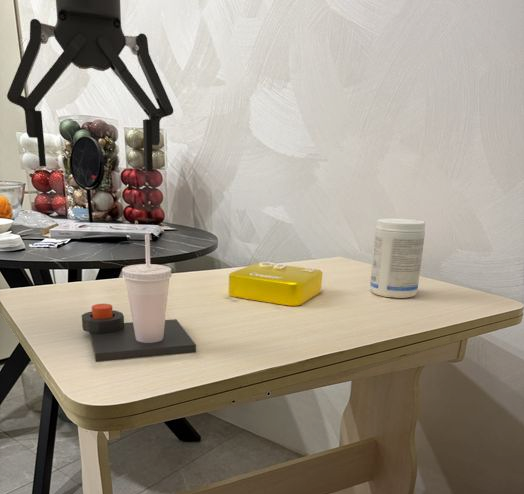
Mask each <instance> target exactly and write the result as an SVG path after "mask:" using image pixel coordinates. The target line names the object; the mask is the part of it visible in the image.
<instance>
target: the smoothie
mask: <svg viewBox="0 0 524 494" xmlns="http://www.w3.org/2000/svg"><path fill="white" fill-rule="evenodd" d="M150 242H151V241H150V234H148V233H147V234H144V246H145V248H144V249H145V263H139V264H131V265H126V266H124V267H123V268H122V275H121V276H122V278H123V279H124V281H125V285H126V292H127V296H128V297H127V298H128V302H129V303H128V304H129V309H130V313H131V320H132V322H133V326H134V331H135V337H136V340H137V341H139V342H143V343H154V342H159V341H161V340H163V335H164V326H165V320H166V315H167V305H168V304H167V303H168V294H169V285H170V278H172V276H173V275H172V268H171V267H169V266H167V265H163V264H153V263H151V243H150Z"/></svg>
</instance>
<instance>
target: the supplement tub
mask: <svg viewBox="0 0 524 494" xmlns="http://www.w3.org/2000/svg"><path fill="white" fill-rule="evenodd" d="M425 228H426V221H423V220H420V219H419V220H418V219H410V218H379V219H377V220H376V226H375V232H374V241H373V242H374V243H373V253H372V264H371V273H370V275H371V276H370V286H369V289H370V291H371V293H373V294H374V295H377V296H380V297H384V298H395V299H408V298H412V297H414V296H416V295H417V293H418V289H419V281H420V273H421V268H422V259H423V251H424V244H425V235H426V229H425Z"/></svg>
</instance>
